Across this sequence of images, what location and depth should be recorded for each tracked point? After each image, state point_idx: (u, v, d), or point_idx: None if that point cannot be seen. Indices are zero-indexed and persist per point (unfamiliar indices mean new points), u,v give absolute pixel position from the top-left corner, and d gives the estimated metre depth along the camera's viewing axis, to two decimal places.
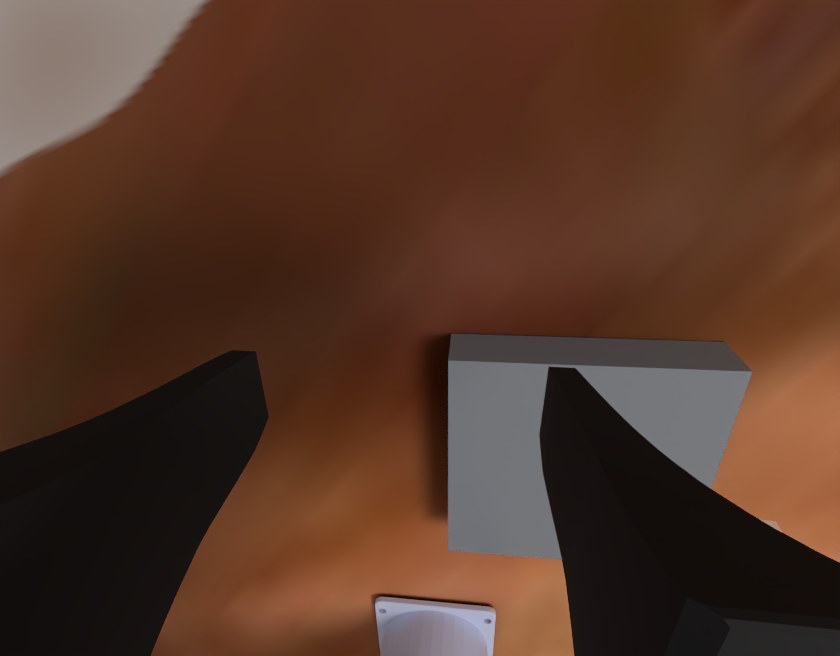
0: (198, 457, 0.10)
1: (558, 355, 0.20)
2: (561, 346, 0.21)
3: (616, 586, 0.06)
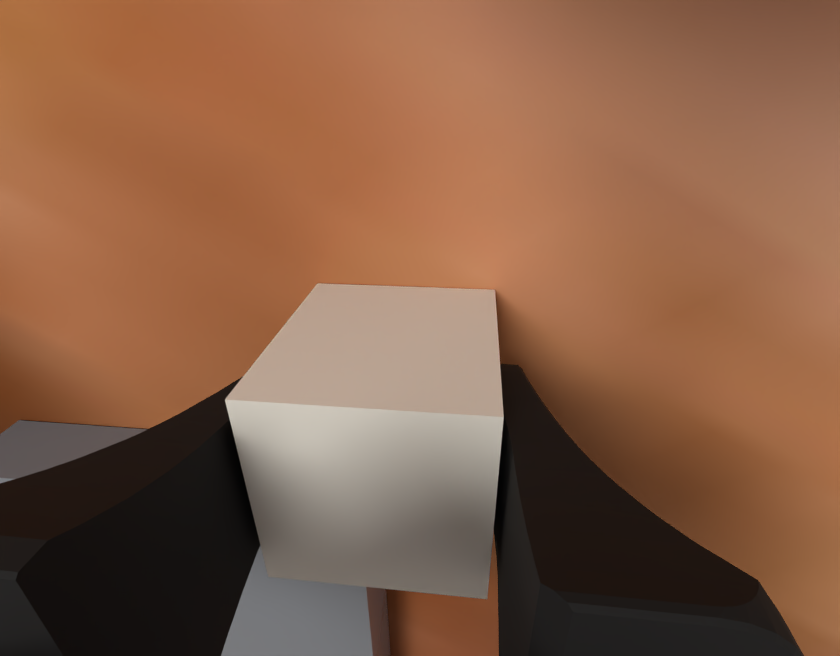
0: None
1: None
2: None
3: (515, 576, 0.06)
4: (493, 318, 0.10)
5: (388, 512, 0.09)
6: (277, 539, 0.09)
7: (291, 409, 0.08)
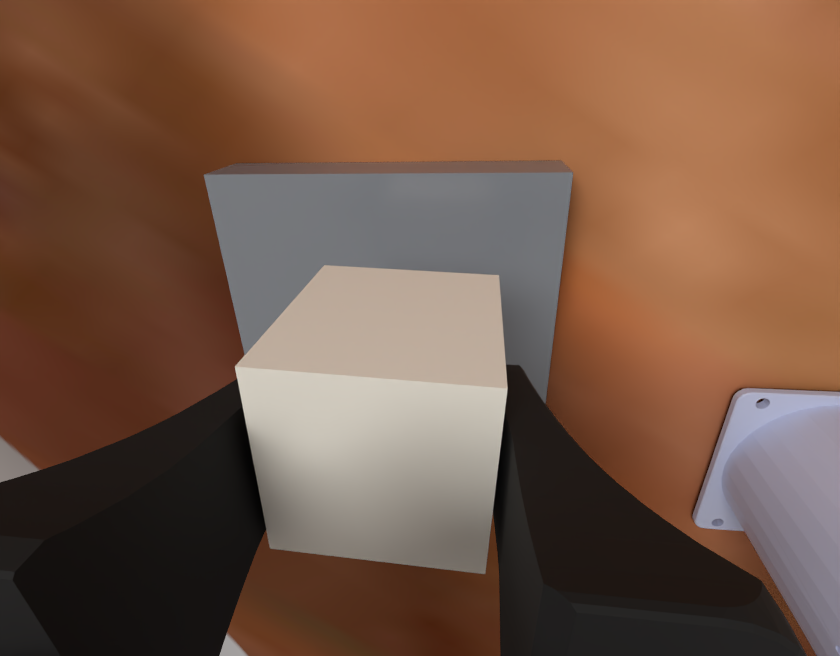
0: None
1: None
2: None
3: (517, 577, 0.06)
4: (497, 300, 0.10)
5: (391, 484, 0.09)
6: (280, 510, 0.09)
7: (300, 377, 0.08)
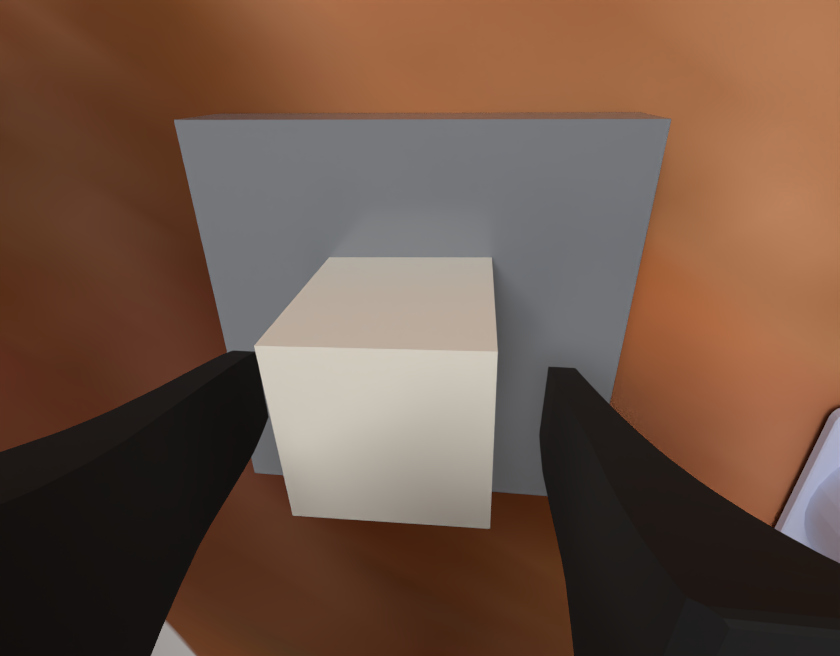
0: (198, 457, 0.10)
1: None
2: None
3: (616, 586, 0.06)
4: (490, 279, 0.11)
5: (399, 447, 0.10)
6: (301, 478, 0.10)
7: (313, 352, 0.09)
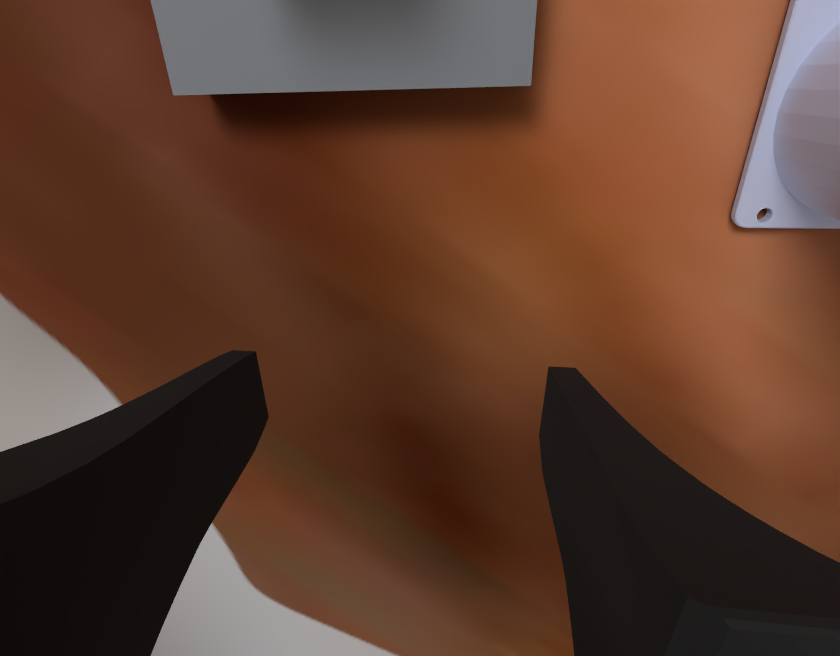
0: (198, 457, 0.10)
1: None
2: None
3: (616, 586, 0.06)
4: None
5: None
6: None
7: None
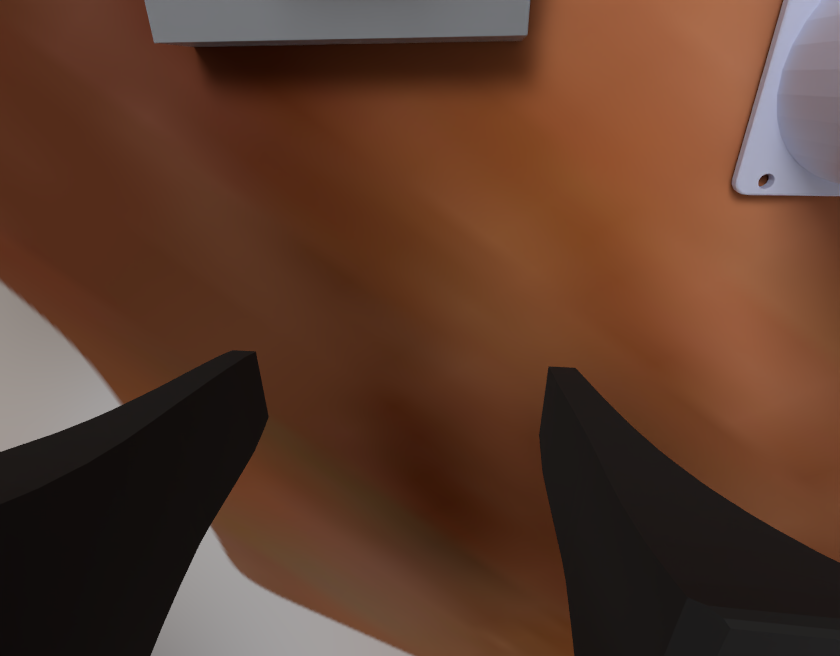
0: (198, 457, 0.10)
1: None
2: None
3: (616, 586, 0.06)
4: None
5: None
6: None
7: None
